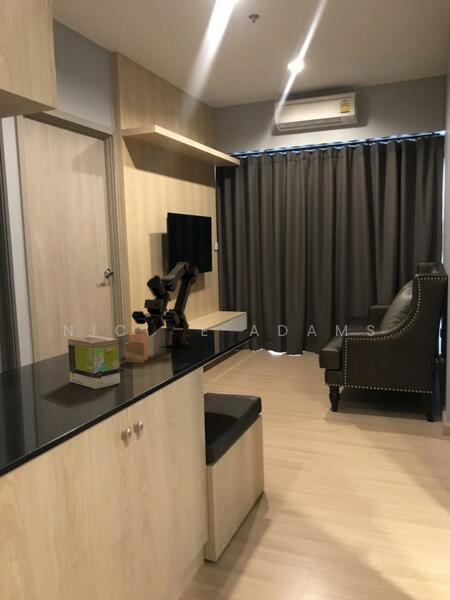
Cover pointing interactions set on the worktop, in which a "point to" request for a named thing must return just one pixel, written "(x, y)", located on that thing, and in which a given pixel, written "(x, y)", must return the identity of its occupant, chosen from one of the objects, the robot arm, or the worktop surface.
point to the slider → (139, 340)
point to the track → (134, 352)
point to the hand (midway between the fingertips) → (149, 335)
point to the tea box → (94, 361)
